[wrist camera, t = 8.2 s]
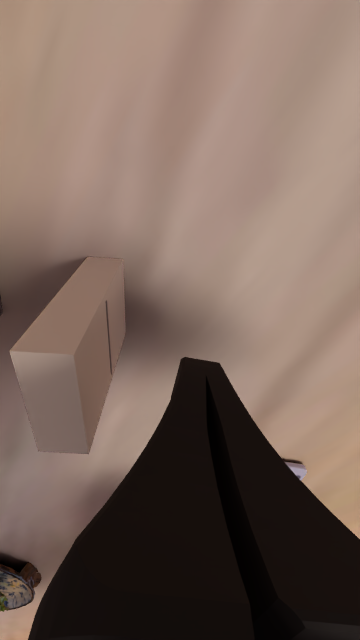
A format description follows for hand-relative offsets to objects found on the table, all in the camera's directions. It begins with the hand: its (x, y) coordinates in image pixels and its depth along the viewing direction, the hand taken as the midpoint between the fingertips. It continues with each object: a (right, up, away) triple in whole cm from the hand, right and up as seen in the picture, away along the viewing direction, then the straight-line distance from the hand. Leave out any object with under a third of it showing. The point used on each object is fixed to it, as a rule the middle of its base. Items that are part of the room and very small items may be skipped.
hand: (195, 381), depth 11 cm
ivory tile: (-4, +3, +4) cm, 7 cm away
